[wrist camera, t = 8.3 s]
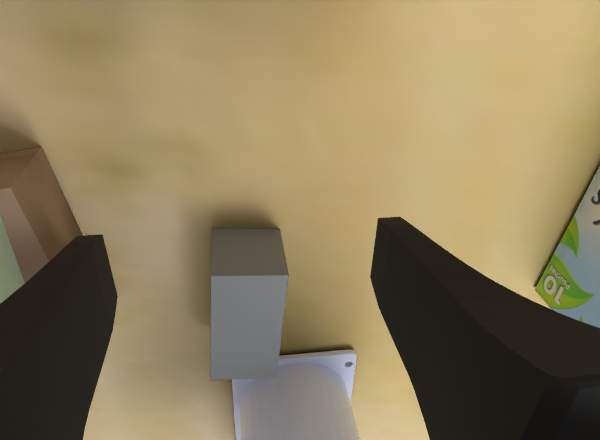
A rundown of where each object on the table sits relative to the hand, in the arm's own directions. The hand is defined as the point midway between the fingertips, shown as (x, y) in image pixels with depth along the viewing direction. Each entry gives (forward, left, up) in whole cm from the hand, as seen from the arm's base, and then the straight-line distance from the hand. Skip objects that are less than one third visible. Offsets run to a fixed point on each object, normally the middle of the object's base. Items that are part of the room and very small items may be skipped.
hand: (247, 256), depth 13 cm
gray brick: (-10, 0, -11) cm, 14 cm away
